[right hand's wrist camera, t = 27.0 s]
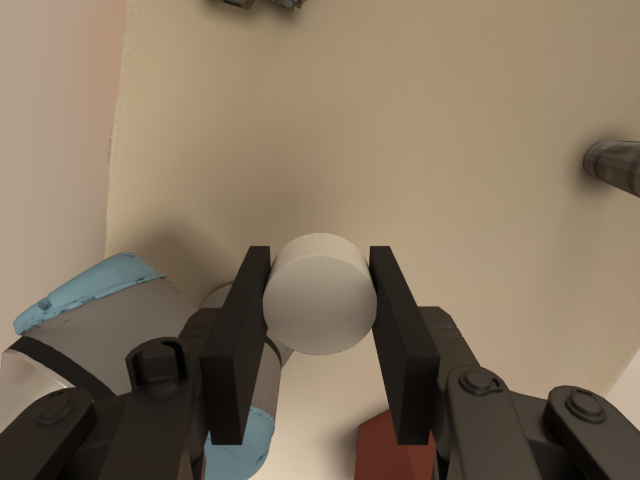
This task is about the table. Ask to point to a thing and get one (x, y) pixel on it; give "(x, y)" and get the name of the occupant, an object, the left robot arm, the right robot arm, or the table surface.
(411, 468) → the bucket
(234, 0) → the left robot arm
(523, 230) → the table surface
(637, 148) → the grey cocktail shaker
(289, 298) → the cap
